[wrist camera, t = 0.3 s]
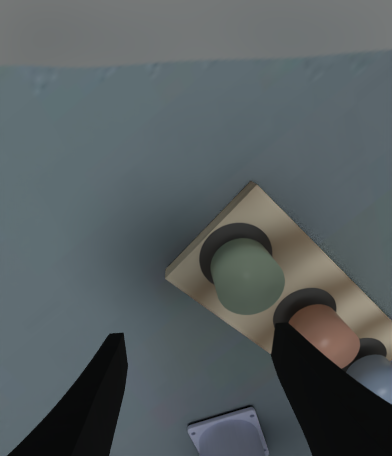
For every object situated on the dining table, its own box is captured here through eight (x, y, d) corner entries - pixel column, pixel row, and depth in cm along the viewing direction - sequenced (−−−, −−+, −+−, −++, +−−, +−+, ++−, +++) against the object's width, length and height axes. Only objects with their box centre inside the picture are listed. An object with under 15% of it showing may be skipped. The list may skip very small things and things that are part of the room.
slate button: (397, 368, 24) (424, 396, 21) (360, 394, 25) (382, 423, 22) (374, 347, 22) (400, 374, 20) (336, 375, 23) (356, 404, 21)
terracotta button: (347, 322, 21) (370, 347, 18) (307, 353, 22) (325, 381, 19) (317, 295, 20) (338, 318, 17) (276, 329, 21) (290, 356, 18)
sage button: (281, 262, 18) (298, 282, 16) (239, 300, 19) (249, 325, 17) (241, 226, 17) (253, 241, 14) (198, 268, 18) (202, 291, 15)
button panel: (401, 332, 26) (415, 344, 24) (327, 386, 28) (335, 401, 26) (250, 180, 19) (257, 184, 17) (165, 269, 21) (165, 279, 19)
